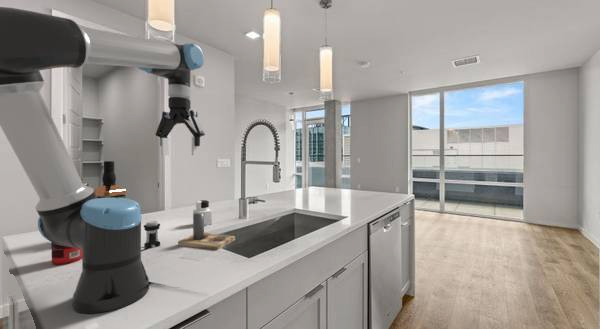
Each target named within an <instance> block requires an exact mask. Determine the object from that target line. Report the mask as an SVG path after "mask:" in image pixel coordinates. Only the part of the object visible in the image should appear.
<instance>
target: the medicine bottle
mask: <svg viewBox="0 0 600 329" xmlns="http://www.w3.org/2000/svg"><path fill="white" fill-rule="evenodd" d="M209 203H210V202H209V201H208V200H204V199H203V200H202V199H201V200H197V201H196V202H195V209H193V210H192V215H193V214H194V213H199V212H202V213H204V225H205V226H210V224H211V225H212V224H213V220H212V219H213V211H212V209H210V208H209V207H210V204H209Z"/></svg>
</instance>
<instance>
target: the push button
mask: <svg viewBox="0 0 600 329" xmlns="http://www.w3.org/2000/svg"><path fill="white" fill-rule="evenodd" d="M160 226H161V223H158V221H156V220H153V221H151V220H150V221H147V222H146V224H144V225H143V228H144V231H146V233H145V234H146V239H145V243H144V244H143V245H144V246H141V252H142V251H147V250H149V249H155V248H158V247H161V241H159V238H158V235H159V234H158V233H159V232H158V230H160Z"/></svg>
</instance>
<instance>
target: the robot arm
mask: <svg viewBox="0 0 600 329" xmlns="http://www.w3.org/2000/svg"><path fill="white" fill-rule="evenodd" d="M203 52H204V51H203V50H202V49H201V47H200V46H199V45H197V44H195V43H193V42H191V43H184V44H178V43H171V42H167V41H160V40H155V39H150V38H144V37H140V36H139V37H138V36H134V35H127V34H123V33H119V32H118V33H117V32H112V31H108V30H101V29H97V28H90V27H85V26H81V25H79V24H78V23H77V22H76V21H75V20H73V19H70V18H67V17H62V16H61V17H60V16H56V15H53V14H46V13H42V12H36V11H32V10H27V9H20V8H15V7H5V6H0V128H1V130H2V133H3V134H4V135H5V137H6V139H7V141H8V142H9V144H10V146H11V148H12V150H13V152H14V153H15V156H16V157H17V160H18V161H19V163H20V165H21V166H22V168H23V170H24V172H25V173H26V176H27V178H28V179H29V181H30V184H31V185H32V186H33V188H34V190H35V192H36V194H37V196H38V198H39V200H38V202H37V204H36V205H35V210H36V212H37V214H38V215H39V218H38V219H37V230H38V232H39V233H40V234H41V236H42V237H44V238H45V239H46V240H47V241H49V242H50V243H51V242H53V243H55V244H57V245H61V246H68V247H73V248H77V249H82V259H81V260H82V263H81V265H82V266H81V267H82V268H81V272H80V273H81V274H80V276H79V279H78V281H77V284H76V288H75V290H74V292H73V295H72V308H73V310H74V311H75V312H78V313H81V314H99V313H105V312H111V311H114V310H118V309H120V308H123V307H126V306H129V305H131V304H134V303H135V302H137V301H139V300H140V299H142V298H143V297H144V296H145V295H147V293H148V291H149V289H150V279H149V276H148V275H147V271H146V269H145V266H144V264H143V262H142V251H141V250H142V248H141V247H142V212H141V206H140V204H139V203H138V202H137V201H136V200H133V199H130V198H126V197H125V198H126V199H125V198H97V196H96V194H95V192H94V190H95V189H94V188H93V187H90V186H88V185H84V184H83V181H82V179H81V177H80V175H79V173H78V171H77V169H76V167H75V165H74V162H73V160H72V158H71V155H70V153H69V152H68V148H67V147H66V145H65V143H64V141H63V139H62V136H61V134H60V131H59V130H58V127H57V126H56V123H55V120H54V119H53V117H52V115H51V112H50V111H49V109H48V106H47V103H46V102H45V99H44V98H43V95H42V93H41V90H42V88H43V87H44V85H45V84H46V83H45V80H44V77H43V76H42V73H41V71H44V70H50V69H51V70H52V69H59V68H74V69H75V68H76V69H78V68H79V69H80V68H81V67H83V66H84V65H85V64H88V65H101V66H102V65H103V66H117V67H132V68H138V69H139V70H141V71H143V72H144V73H145V72H146V73H147V74H151V75H155V76H158V77H161V78H163V79H167V81H168V82H167V83H168V85H167V86H168V88H167V89H168V91H167V92H168V94H167V95H168V97H169V98H168V102H167V104H168V109H169V111H164V110H163V111H162V113H161V119H160V122H159V125H158V126H157V129H156V132H155V136H156V137H159V138H160V139H159V141H160V142H159V143H160V145H159V146H160V147H161V156H169V153H170V152H169V150H170V149H169V148H170V146H169V145H170V144H169V138H168V136H169V135H170V133H171V132H172V130H173V129H174V127H175V126H176V125H177V124H178V125H179V124H183V125H185V126H186V128H187V130H189V132H190V133H191V134H192V137H191V156H199V147H200V146H201V137H203V136H205V135H206V133H205V131H204V129H203V126H202V123H201V122H200V119H199V117H198V111H197V110H193V109H191V71H195V70H197V69H201V68H202V67H203V66H204V63H205V57H204V53H203Z"/></svg>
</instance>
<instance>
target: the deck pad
mask: <svg viewBox="0 0 600 329" xmlns="http://www.w3.org/2000/svg"><path fill="white" fill-rule="evenodd" d="M213 253H214V251H211V250H210V251H209V250H202V249H193V250H190V251H189V252H186V253H184V254H182V255H180V256H179V257H178V258H180V259H186V260H193V261H194V260H195V261H201V260H203V259H204V258H205V257H206V258H207V257H208V256H210V255H211V254H213Z"/></svg>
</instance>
